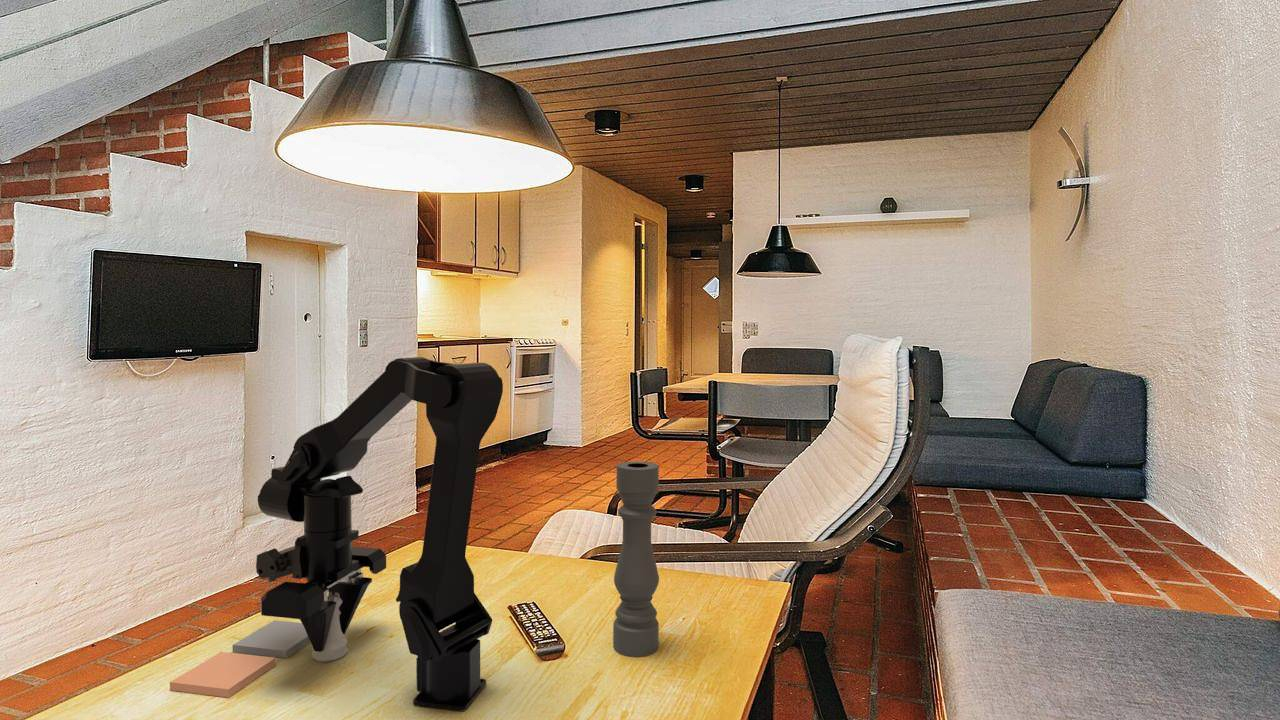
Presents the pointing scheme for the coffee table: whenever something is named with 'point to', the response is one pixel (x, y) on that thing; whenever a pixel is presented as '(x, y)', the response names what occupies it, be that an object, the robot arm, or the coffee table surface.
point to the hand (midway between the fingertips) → (329, 643)
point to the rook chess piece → (333, 636)
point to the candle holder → (636, 561)
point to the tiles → (243, 660)
